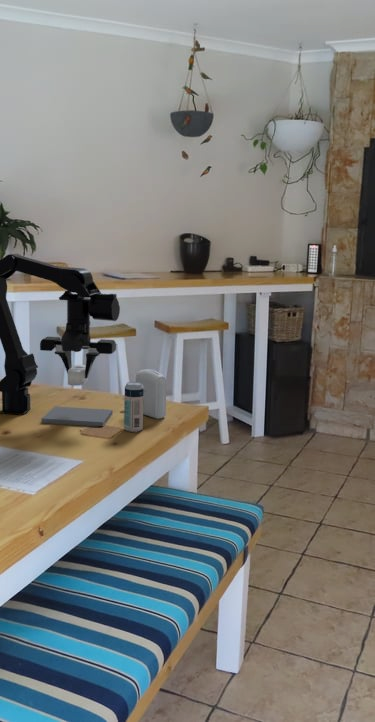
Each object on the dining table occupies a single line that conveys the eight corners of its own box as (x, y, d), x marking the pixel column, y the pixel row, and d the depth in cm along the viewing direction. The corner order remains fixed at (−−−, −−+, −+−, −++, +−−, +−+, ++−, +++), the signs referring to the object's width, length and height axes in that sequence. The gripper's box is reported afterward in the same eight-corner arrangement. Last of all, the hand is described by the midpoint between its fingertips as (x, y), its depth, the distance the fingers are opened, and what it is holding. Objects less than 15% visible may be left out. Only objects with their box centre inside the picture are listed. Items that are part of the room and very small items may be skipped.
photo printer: (132, 411, 191) (133, 367, 189) (145, 409, 194) (146, 365, 191) (155, 420, 183) (156, 374, 181) (168, 417, 186) (169, 372, 184)
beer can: (145, 428, 176) (146, 382, 173) (138, 433, 171) (139, 386, 169) (128, 426, 177) (129, 380, 175) (120, 431, 173) (121, 384, 170)
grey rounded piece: (66, 385, 176) (66, 371, 176) (77, 375, 187) (77, 362, 187) (81, 386, 176) (81, 372, 175) (91, 376, 187) (92, 363, 186)
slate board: (41, 422, 177) (41, 418, 177) (54, 410, 189) (54, 406, 189) (102, 426, 176) (102, 422, 176) (112, 414, 188) (112, 409, 187)
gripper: (32, 320, 170) (33, 382, 173) (107, 324, 169) (106, 386, 172) (46, 315, 181) (46, 373, 184) (116, 318, 179) (115, 377, 182)
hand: (78, 377), depth 180 cm, fingers closed on grey rounded piece, 4 cm apart
